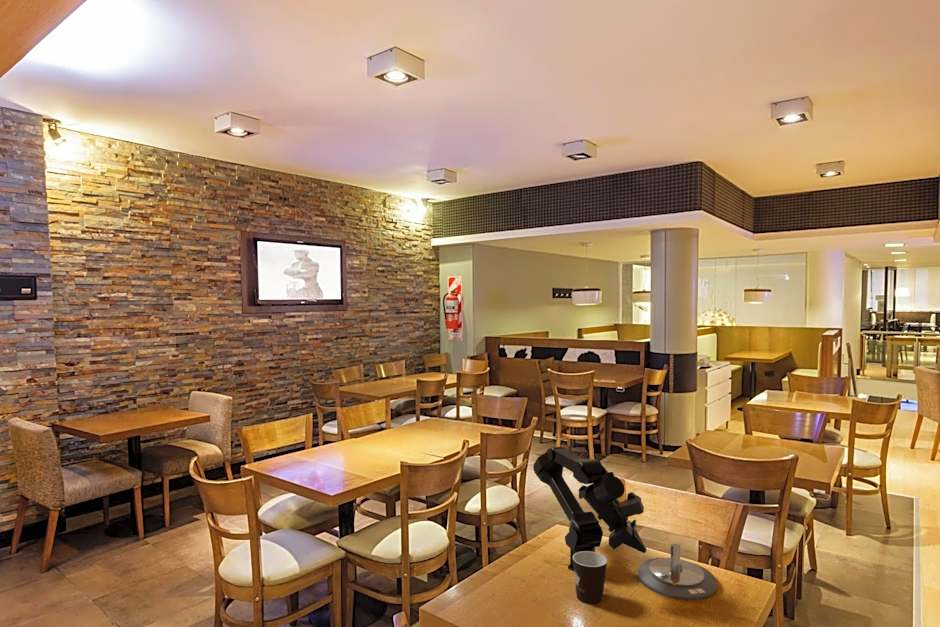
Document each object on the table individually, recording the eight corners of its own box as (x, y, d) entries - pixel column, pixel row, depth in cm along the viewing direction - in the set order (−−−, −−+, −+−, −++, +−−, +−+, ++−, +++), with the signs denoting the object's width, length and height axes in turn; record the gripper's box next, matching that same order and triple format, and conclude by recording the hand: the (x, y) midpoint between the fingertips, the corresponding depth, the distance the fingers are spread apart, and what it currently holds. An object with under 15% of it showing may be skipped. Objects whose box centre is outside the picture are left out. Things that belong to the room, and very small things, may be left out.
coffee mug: (607, 608, 137) (607, 568, 137) (571, 604, 139) (572, 564, 139) (605, 585, 149) (606, 547, 149) (572, 581, 151) (573, 544, 150)
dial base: (628, 585, 149) (628, 579, 149) (649, 556, 165) (649, 551, 165) (708, 608, 138) (708, 601, 138) (722, 575, 154) (722, 568, 154)
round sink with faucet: (651, 558, 161) (651, 523, 160) (704, 567, 155) (704, 531, 155) (646, 584, 146) (646, 545, 146) (704, 595, 140) (704, 555, 140)
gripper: (622, 498, 140) (668, 549, 137) (628, 475, 158) (669, 520, 155) (590, 524, 143) (634, 574, 140) (599, 499, 161) (638, 543, 158)
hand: (645, 551), depth 148 cm, fingers closed
